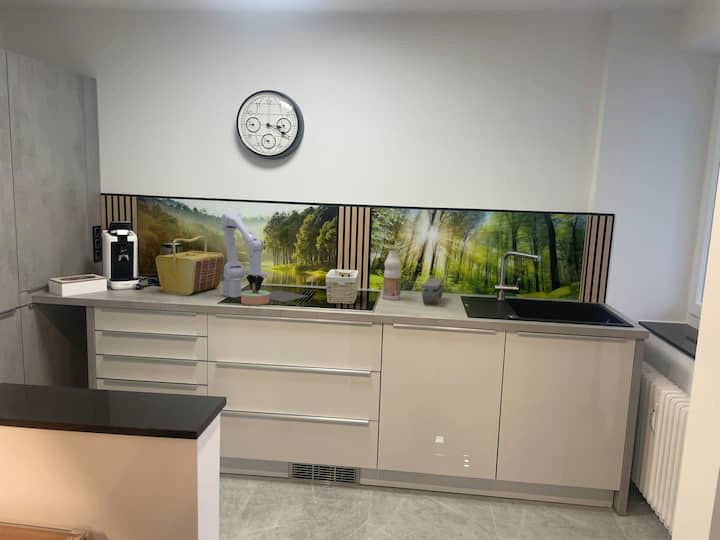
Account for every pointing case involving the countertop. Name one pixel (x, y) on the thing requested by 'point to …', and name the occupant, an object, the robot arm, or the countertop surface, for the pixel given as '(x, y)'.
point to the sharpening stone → (432, 291)
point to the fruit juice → (392, 276)
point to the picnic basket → (189, 270)
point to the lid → (254, 292)
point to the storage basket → (342, 286)
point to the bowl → (254, 300)
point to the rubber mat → (284, 296)
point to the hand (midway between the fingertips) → (255, 290)
